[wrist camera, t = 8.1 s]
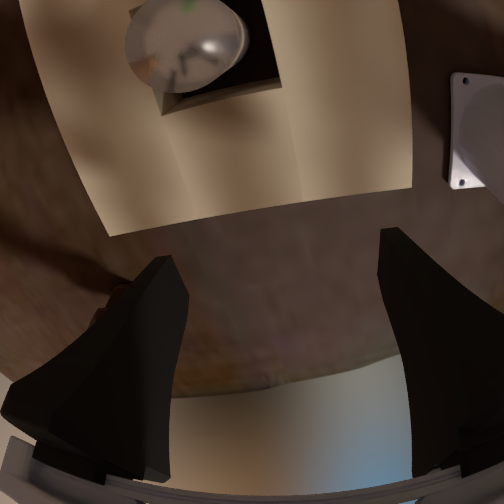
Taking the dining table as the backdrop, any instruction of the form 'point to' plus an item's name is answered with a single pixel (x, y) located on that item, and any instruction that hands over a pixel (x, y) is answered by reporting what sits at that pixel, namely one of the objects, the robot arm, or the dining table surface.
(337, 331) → the dining table surface
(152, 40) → the long pin
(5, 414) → the robot arm
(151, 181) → the birch block
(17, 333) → the dining table surface
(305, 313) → the dining table surface
